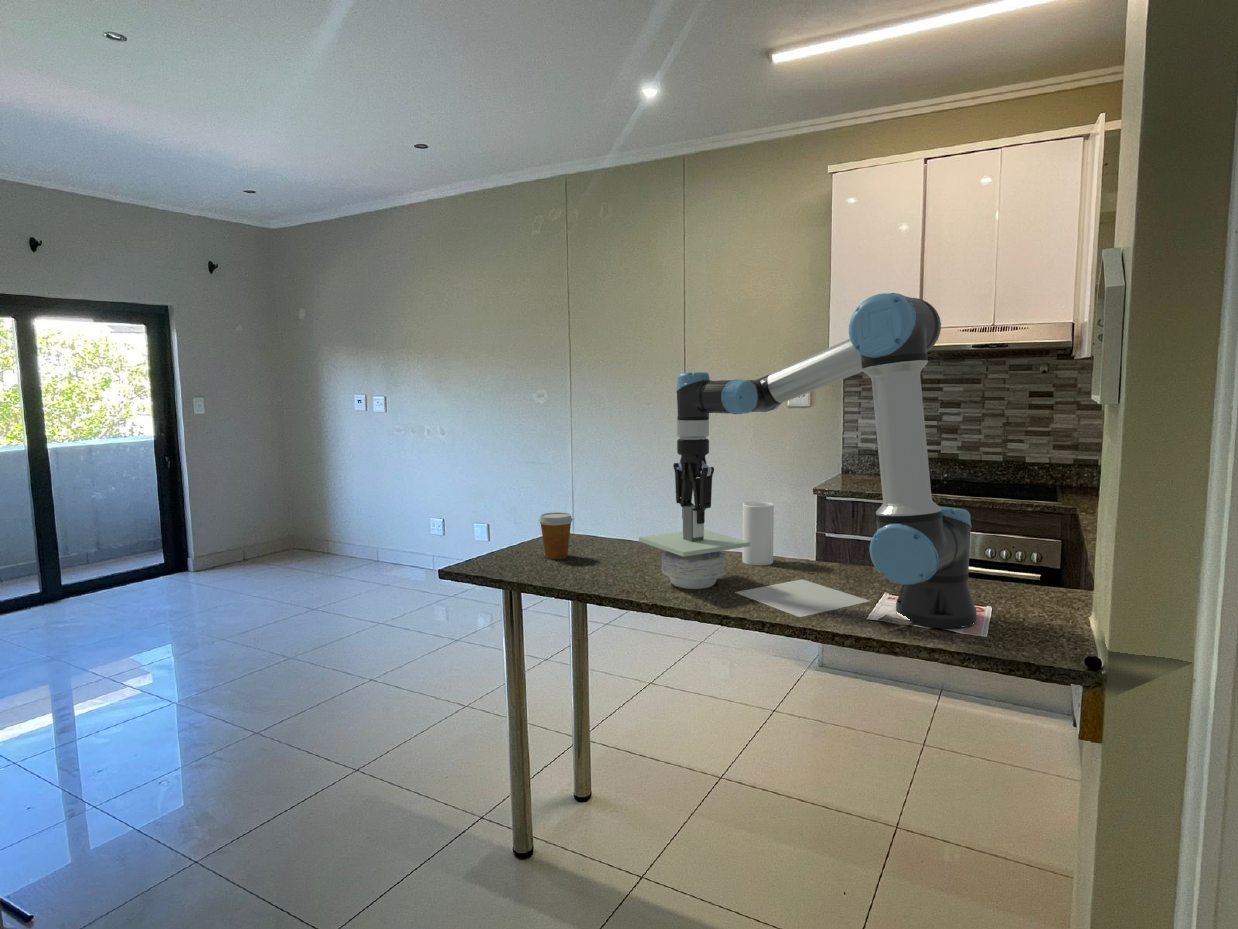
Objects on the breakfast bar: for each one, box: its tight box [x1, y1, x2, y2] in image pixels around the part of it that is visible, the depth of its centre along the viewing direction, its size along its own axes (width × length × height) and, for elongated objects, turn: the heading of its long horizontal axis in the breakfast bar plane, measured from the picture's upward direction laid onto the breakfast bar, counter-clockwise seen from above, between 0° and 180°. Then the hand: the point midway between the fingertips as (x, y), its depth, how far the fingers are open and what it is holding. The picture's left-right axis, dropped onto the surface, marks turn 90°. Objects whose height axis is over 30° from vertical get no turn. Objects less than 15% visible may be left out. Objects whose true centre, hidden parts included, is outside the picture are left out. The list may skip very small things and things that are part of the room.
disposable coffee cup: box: [538, 512, 573, 560], centre depth 202 cm, size 10×10×12 cm
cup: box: [741, 501, 775, 566], centre depth 193 cm, size 8×8×16 cm
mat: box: [734, 579, 871, 618], centre depth 161 cm, size 21×21×1 cm
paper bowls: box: [661, 550, 726, 590], centre depth 172 cm, size 15×15×8 cm
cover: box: [638, 504, 750, 557], centre depth 171 cm, size 19×19×9 cm
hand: (693, 535), depth 171 cm, fingers closed on cover, 3 cm apart
